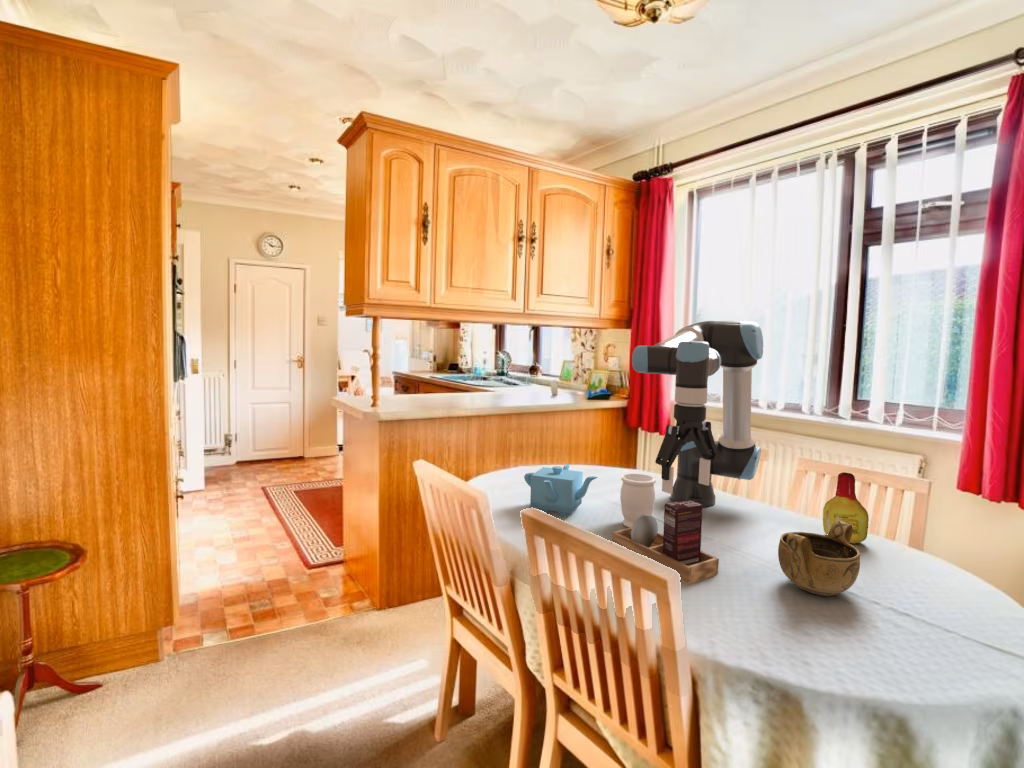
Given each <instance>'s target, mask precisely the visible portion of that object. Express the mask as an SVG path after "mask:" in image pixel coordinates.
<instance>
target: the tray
mask: <svg viewBox="0 0 1024 768" xmlns="http://www.w3.org/2000/svg"><path fill="white" fill-rule="evenodd" d="M658 530H659V525H658V522H657V519H656V518H655V517H654V516H650V515H647V514H645V515H641V516H640V517H638V518H637V519H636V521H635V522H634V524H633V527H632V528H629V527H627V528H625V529H620V530H616V531H613V532H611V542H612V541H613V542H615V543H617V544H619V545H621V546H624V547H626V548H627V549H629V550H632V551H634V552H636V553H639V554H641V555H644V556H647V557H648V558H651V559H653V560H655V561H657V562H659V563H661V564H663V565H665V566H667V567H670V568H672V569H674V570H676V571H677V572H678V573H679V574H680V577H681V580H680V581H681V582H683V583H685V584H687V585H691V584H693V583H696V582H698V581H702V580H704V579H707V578H711V577H714V576H717V575H719V562H720V561H719V560H720V558H718V557H716V556H714V555H711V554H709V553H707V552H704V551H702V550H701V553H700V563H697V564H694V565H691V566H687V565H685V564H683V563H681V562H679V561H676V560H674V559H672V558H670V557H668V556H666V555H663V534H661V533H659V532H658Z"/></svg>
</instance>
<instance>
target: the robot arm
mask: <svg viewBox="0 0 1024 768" xmlns="http://www.w3.org/2000/svg"><path fill="white" fill-rule="evenodd" d="M763 354H764V337H763V333H762V329H761V326H760V325H759V324H758V322H756V321H755V322H754V321H745V320H704V321H700V322H696V323H693V324H689V325H687V326H684V327H682V328H680V329H678V330H677V332H676V333H675V334H674V335H673V336H670V337H669V338H666V339H664V340H662V341H660V342H657V343H655V344H654V345H647V344H646V345H638V346H635V348H634V349H633V351H632V356H631V357H632V358H631V364H632V368H633V370H634V371H635V372H637V373H640V374H645V375H647V374H652V375H653V374H654V375H655V374H656V375H669V376H675V384H674V385H675V390H674V402H675V404H674V406H673V419H674V420H675V421H676V423H675V425H670V424H667V425H666V427H665V435H664V436H663V437H664V438H663V440H662V443H661V445H660V448H659V451H658V454H657V455H656V458H655V464H656V465H659V466H661V477H660V478H661V484H662V485H661V492H664V493H665V494H668V495H670V499H671V501H673V502H680V501H687V500H692V501H695V502H697V503H700V504H702V505H703V507H705V508H706V507H712V506H714V505H715V504H716V498H717V497H716V494H715V491H714V490H715V489H714V487H713V486H714V485H713V482H712V476H719V477H726V478H731V479H737V480H744V481H745V480H746V481H749V480H750V481H751V480H752V479H753V480H754V478H755V476H756V474H757V472H758V468H759V463H760V458H761V452H762V450H761V449H762V448H761V447H760V446H759V445H756V444H757V443H756V440H755V438H754V437H753V436H752V434H751V433H752V432H751V430H752V429H751V427H752V381H753V380H752V379H753V378H752V376H753V373H752V371H753V368H755V367H756V365H758V361H759V360H761V359H762V358H763ZM720 367H721V368H722V434H721V435H720V436H719V437H718V440H717V441H716V440H715V438H714V436H713V432H712V422H711V421H707V420H706V418H707V406H706V404H707V403H708V379H709V377H710V376H714V374H716V373H717V372H718V371H719V369H720ZM676 459H677V469H676V478H675V481H674V475H675V474H674V472H675V471H674V470H675V469H674V466H672V465H673V464H674V462H675V460H676ZM703 507H702V508H703Z"/></svg>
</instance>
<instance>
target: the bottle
mask: <svg viewBox="0 0 1024 768" xmlns="http://www.w3.org/2000/svg"><path fill="white" fill-rule="evenodd" d="M822 511H823V512H822V515H823V516H822V517H823V518H822V527H823V531H824V534H825V535H827V534H829V532H830V529H831V527H832V525H833V523H834V522H835V521H837V520H838V521H842V522H845V523H848V524H850V525H852V527H853V532H852V536H851V540H850V544H853V543H858V544H860V543H862V542H864V541H866V539H867V537H868V532H869V531H868V529H869V519H870V518H869V513H868V511H867V509H866V508H865V506H863V505H862V503H861V502H860V501H859V500H858V498H857V494H856V477H855V476H854V474H853V473H851V472H850V473H849V472H845V471H844V472H840V473H839V474H838V475H837V484H836V491H835V496H833V497H832V498H830V499H829V500H828V501H826V502H825V503H824V506H823V509H822Z"/></svg>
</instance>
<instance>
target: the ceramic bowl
mask: <svg viewBox="0 0 1024 768" xmlns="http://www.w3.org/2000/svg"><path fill="white" fill-rule="evenodd" d="M852 532H853V527H852V525H850V524H848V523H845V522H842V521H838V520H837V521H835V522H834V523H833V525H832V527H831V529H830V532H829V534H828V535H827V534H825V535H824V534H819V533H813V532H806V531H790V532H784V533H783V534H781V535H780V538H779V543H778V546H777V547H778V549H777V551H778V552H777V554H778V556H777V557H778V563H779V566H780V568H781V571H782V573H783V574H784V575H785V577H787V579H789V580H790V582H791V583H793V584H794V585H796V587H798V588H800V589H801V590H804V591H806V592H808V593H811V594H814V595H817V596H825V597H828V596H836V595H839V594H842V593H844V592H846V591H848V590H849V589H850V588H851V587H853V585H854V584H855V583H856V581H857V579H858V576H859V573H860V568H861V557H860V551H859V549H858V548H857V547H855V546H854V544H851V543H850V540H851V536H852Z"/></svg>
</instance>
